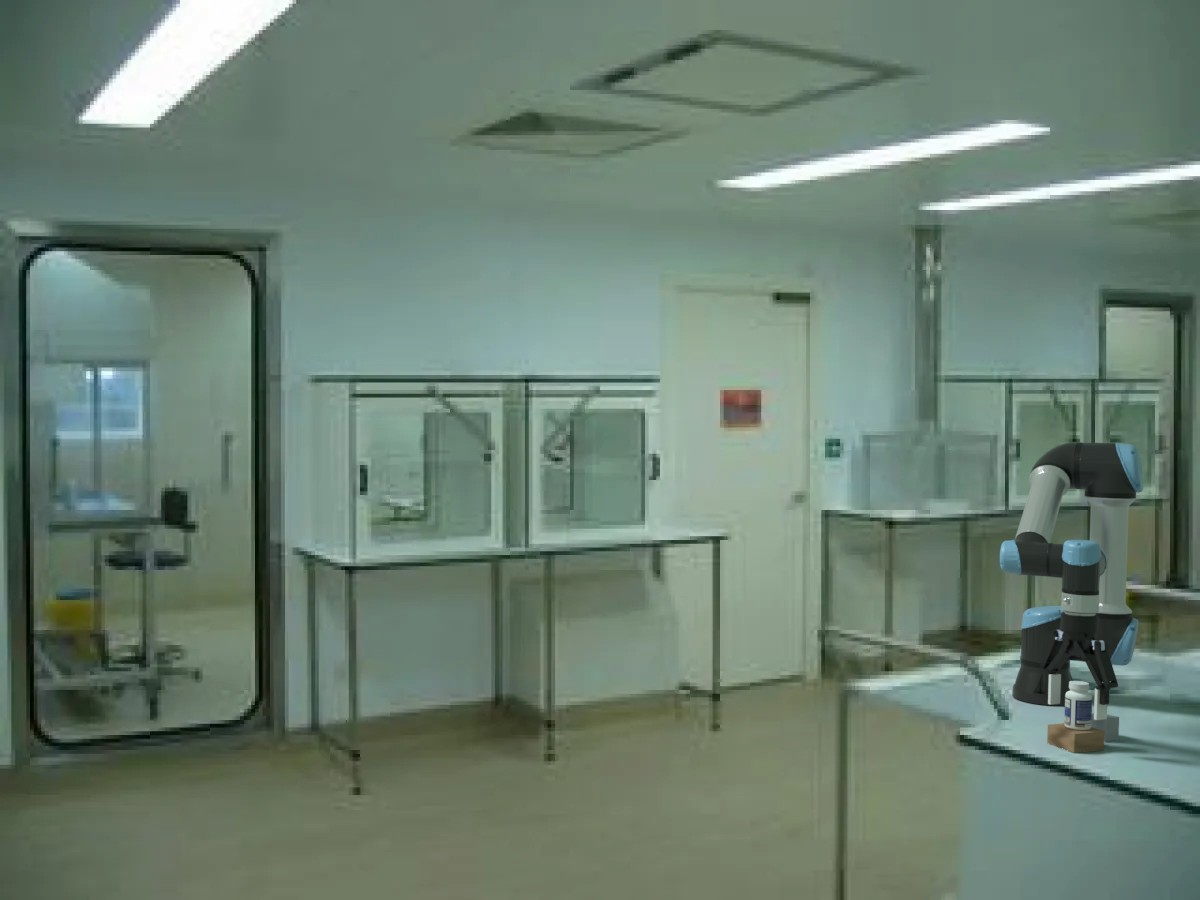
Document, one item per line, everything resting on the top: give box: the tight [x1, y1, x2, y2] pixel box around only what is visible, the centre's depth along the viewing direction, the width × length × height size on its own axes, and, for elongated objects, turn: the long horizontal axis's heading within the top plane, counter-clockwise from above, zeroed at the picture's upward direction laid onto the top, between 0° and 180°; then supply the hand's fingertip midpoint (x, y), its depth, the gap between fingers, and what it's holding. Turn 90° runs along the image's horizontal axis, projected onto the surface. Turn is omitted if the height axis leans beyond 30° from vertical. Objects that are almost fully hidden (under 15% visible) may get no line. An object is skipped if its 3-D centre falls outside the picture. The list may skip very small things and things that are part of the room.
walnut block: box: [1046, 722, 1105, 754], centre depth 257 cm, size 8×8×4 cm
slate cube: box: [1091, 712, 1120, 743], centre depth 265 cm, size 5×5×5 cm
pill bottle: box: [1064, 680, 1093, 730], centre depth 257 cm, size 5×5×10 cm
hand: (1076, 711), depth 257 cm, fingers open, 13 cm apart
